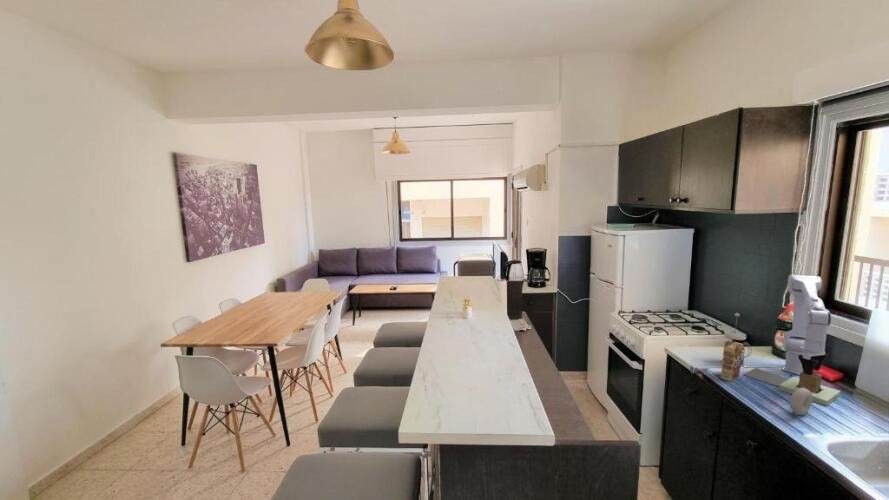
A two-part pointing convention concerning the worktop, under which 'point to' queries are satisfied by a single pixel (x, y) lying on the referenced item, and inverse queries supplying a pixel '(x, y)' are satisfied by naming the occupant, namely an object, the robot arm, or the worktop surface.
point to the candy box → (731, 361)
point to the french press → (737, 337)
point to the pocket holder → (822, 397)
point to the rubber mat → (766, 377)
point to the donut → (801, 401)
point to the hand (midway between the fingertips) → (811, 372)
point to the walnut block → (810, 382)
